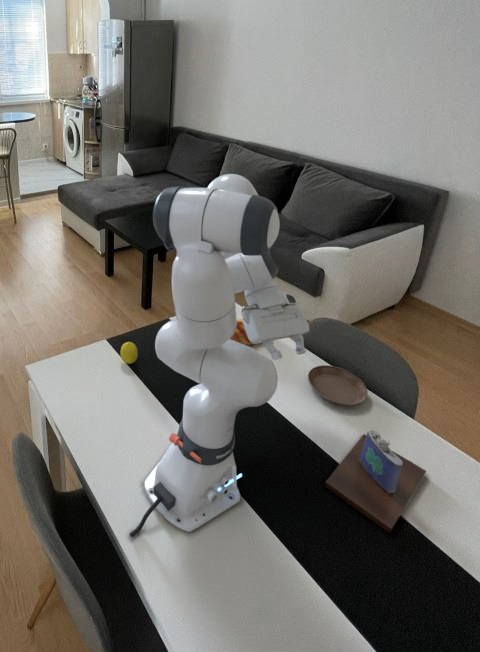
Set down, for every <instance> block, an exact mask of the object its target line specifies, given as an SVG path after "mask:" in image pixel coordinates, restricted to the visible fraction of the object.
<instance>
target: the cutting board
mask: <svg viewBox="0 0 480 652" xmlns="http://www.w3.org/2000/svg"><path fill="white" fill-rule="evenodd" d="M366 436H367V434H365V433H364V434H362V436H361V437H360V438H359V440H358V441H357V442H356V443H355V445H354V446H353V447H352V448H351V450H350V451H349V452H348V453H347V454H346V456H345V457H344V458H343V460H342V461H341V462H340V463H339V464H338V466H337V467H336V468H335V469H334V471H333V472H332V473H331V474H330V475H329V477H328V478H327V479H326V481H325V484H324V487H325V488H326V489H328V490H329V491H330V492H332V493H333V494H334V495H336V496H337V497H339V498H340V499H341V500H342V501H344V502H346V503H347V504H348V505H350V506H351V507H353V508H354V509H355V510H357V511H358V512H359V513H361V514H363V515H364V516H365V517H367V519H369V520H370V521H372V522H373V523H375V524H376V525H377V526H379V527H380V528H381V529H383V530H384V531H386V532H387V533H388V534H391V533H392V531H393V530H394V528H395V526H396V524H397V523H398V522H399V520H400V518H401V516H402V515H403V513H404V512H405V510H406V508H407V506H408V505H409V503H410V501H411V499H412V498H413V497H414V495H415V493H416V491H417V489H418V488H419V486H420V485H421V483H422V481H423V479H424V478H425V476H426V473H427V470H426V469H424V468H422V467H420V466H419V465H417V464H415V463H414V462H413V461H411V460H409V459H407V458H405V457H403V456H402V455H400V454H399V453H397V452H395V451H393V452H394V454H396V455H397V456H398V457H399V458H400V459H401V460H402V461H403V467H402V469H401V472H400V475H399V478H398V481H397V485H396V489H395V492H394V493H391V492H390V493H391V494H389V493H387V492H385V491H384V490H383V489H382V488H380V486H379V485H378V484H377V483H376V482H375V481H374V480H373V479H372V477H371V476H370V475H369V474H368V473H367V472H366V470H365V468H364V467H363V465H362V464H361V462H360V456H361V453H362V449H363V446H364V443H365V439H366Z"/></svg>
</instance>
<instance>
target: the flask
mask: <svg viewBox="0 0 480 652" xmlns="http://www.w3.org/2000/svg"><path fill="white" fill-rule="evenodd" d="M390 446H391V441H390V440H387V441H386V439H384V438H382V436H381V434H379V433H378V432H377V431H375V430H373V429H370V430H367V432H366V439H365V443H364V446H363V449H362V453H361V456H360V462H361V464H362V465H363V467H364V468H365V470H366V472H367V473H368V474H369V475H370V476H371V477H372V479H373V480H374V481H375V482H376V483H377V484H378V485H379V486H380V488H382V489H383V490H384V491H385V492H387V493H389V494H391V493H394V492H395V489H396V485H397V481H398V478H399V475H400V472H401V469H402V467H403V461H402V460H401V459H400V458H399V457H398V456H397V455H396V454H394V452H395V451H394V450H392V449H391V448H390ZM390 492H391V493H390Z"/></svg>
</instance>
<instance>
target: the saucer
mask: <svg viewBox="0 0 480 652" xmlns="http://www.w3.org/2000/svg"><path fill="white" fill-rule="evenodd" d="M307 380H308V383H309V385H310V386H311V387H312V389H313V390H314V391H315V392H316V393H317V394H318V395H319V396H320V397H321V398H323V399H324V400H326V401H328V402H329V403H333V404H335V405H339V406H345V407H346V406H347V407H348V406H349V407H350V406H356V405H359V404H361V403H363V402H365V401H366V400H367V398H368V395H369V393H368V389H367V387H366V384H365V383H364V381H362V380H361V379H360V378H359V377H358V376H356V375H355V374H354V373H352V372H350V371H348V370H346V369H344V368H342V367H338V366H333V365H326V364H324V365H317V366H314V367H311V369H310V370H309V371H308V374H307Z"/></svg>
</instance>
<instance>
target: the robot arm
mask: <svg viewBox="0 0 480 652" xmlns="http://www.w3.org/2000/svg"><path fill="white" fill-rule="evenodd" d="M278 212H279V211H278V207H277V205H275V203H273V201H272V200H270V199H269V198H266V197H264V196H261V195H259V194H258V192H257V190H256V188H255V187H254V185H253V184H252V183H251V181H250V180H249V179H247V177H245V176H242V175H240V174H236V173H226V174H223V175H219V176H218V177H216V178H214V179H213V180H212V181H211V182H210V183H209V184H208V186H207V187H185V186H183V185H180V186H171V187H167V188H164V189H163V190H162V191H161V192H160V193H159V194H158V196H157V198H156V199H155V202H154V206H153V210H152V223H153V227H154V229H155V232H156V234H157V236H158V238H159V239H160V240H161V241H162V243H163V246H164V247H165V249H166V250H167V251H169V252H170V253H174V252H176V255H175V258H174V260H173V262H172V266H171V267H172V268H171V293H172V301H173V306H174V311H175V319H172V320H168V321H167V322H166V323H164V324H163V325H162V326H161V327H160V328H159V330H158V332H157V334H156V337H155V341H154V348H155V349H154V350H155V353H156V357H157V359H158V360H159V361H161V362H162V363H163V364H165V365H166V366H167V367H169V368H170V369H171V370H173V371H174V372H175V373H177V374H180V375H182V376H184V377H186V378H187V379H190V380H192V381H194V382H196V383H198V384H196V385H194V386H192V387H190V388H189V390H187V391H186V393H185V395H184V398H183V402H182V403H183V404H182V417H181V421H180V423H179V426H178V430H177V433H175V432H172V433H171V434H170V435H169V437H168V441H169V442H170V445H169V446H168V448H167V450H166V451H165V452H164V454H163V456H162V458H161V459H160V461H158V463H157V464H156V465H155V467H154V468H153V470H151V473H149V475H148V476H147V477H146V479H145V480H144V484H143V486H144V491H145V494H146V496H147V498H148V500H149V501H150V503H151V504H152V505H151V506H150V507H149V508H148V509H147V510H146V512H145V513H144V515H143V516H142V518H141V520H140V522H139V524H138V525H137V526H136V528H134V529H133V530H132V531H131V532H129V536H130V538H133V537H135V536H136V535H137V534H139V532H140V531H141V530H142V529H143V527H144V525H145V524H146V522H147V519H148V518H149V516H150V515H151V514H152V512H153V511H154V510H155V509H156V510H157V512H158V513H159V514H160V515H161V516H163V518H165V519H166V520H167V521H168V522H169V523H170V524H171V525H173V526H175V527H176V528H177V529H179V530H182V531H184V532H187V533H190V532H193V531H195V530H196V529H198V528H200V527H201V526H203V525H204V524H206V523H208V522H209V521H211V520H213V519H214V518H215V517H217V516H219V515H220V514H222V513H224V512H226V511H227V510H229V509H230V508H232V507H233V506H235V505H237V504H238V503H239V502H240V501H241V493H240V490H239V488H238V484H237V483H238V481H237V480H238V479H240V478H242V477H243V474H242V473H239V474H238V475H237V464H236V461H235V456H234V449H235V443H236V433H235V422H236V417H237V415H238V412H240V411H241V410H243V409H245V408H257V407H260V406H263V405H265V404H266V403H268V402H269V401H270V400H271V399H272V398H273V396H274V395H275V393H276V391H277V388H278V383H279V379H278V371H277V368H276V365H275V364H274V362H273V361H277V360H280V359H283V355H282V353H281V350H278V349H277V348H276V347H275V345H274V344H275V343H274V341H277V340H283V339H288V338H291V339H292V340H293V342H295V347H294V351H295V352H296V354H297V355H303V354H306V353H307V350H306V348H305V343H304V342H305V341H304V336H303V335H305V334H307V333H309V332H310V325H309V322H308V320H307V318H306V316H305V314H304V312H303V310H302V309H301V307H300V306H299V305H297V304H299V301H298V298H297V297H296V296H295V295H293V294H290V293H287V292H284V291H282V290H280V288H279V286H278V284H277V283H276V282H275V278H276V276H277V275H278V273H279V270H280V269H279V267H278V266H277V264H276V263H275V261H274V259H273V257H272V255H271V249H272V248H273V245H274V244H275V242H276V240H277V238H278V236H279V233H280V227H281V223H280V216H279V213H278ZM241 292H243V293H244V294H243V295H244V298H245V301H246V303H247V305H244V306H243V307H242V308H241V312H240V314H241V317H242V319H243V323H244V327H245V330H246V333H247V336H248V339H249V340H250V341H251V342H252V343H253V344H252V345H256V344H261V343H262V346H263V348H264V349H265V350H266V351H267V352H268V353H269V354H270V355H271V358H272V360H271V359H270V358H269V357H267V356H266V355H264V354H262V353H261V352H260V351H258V350H256V349H254V348H253V347H251V346H249V345H247V344H246V345H244V344H241V343H239V342H236V341H234V340H231V339H230V338H231V337H232V336H233V334H234V332H235V330H236V326H237V319H238V318H237V306H236V295H235V294H238V293H241Z"/></svg>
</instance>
